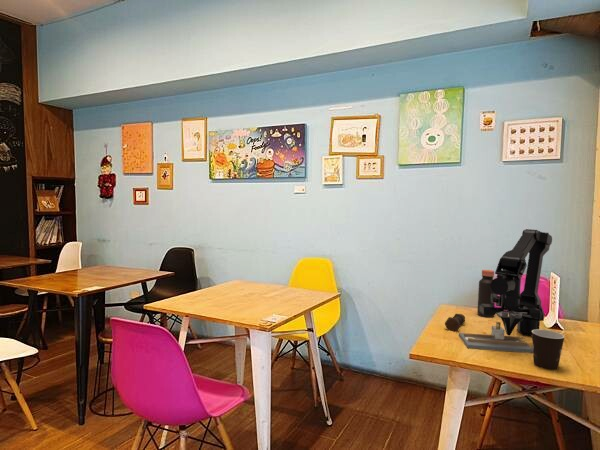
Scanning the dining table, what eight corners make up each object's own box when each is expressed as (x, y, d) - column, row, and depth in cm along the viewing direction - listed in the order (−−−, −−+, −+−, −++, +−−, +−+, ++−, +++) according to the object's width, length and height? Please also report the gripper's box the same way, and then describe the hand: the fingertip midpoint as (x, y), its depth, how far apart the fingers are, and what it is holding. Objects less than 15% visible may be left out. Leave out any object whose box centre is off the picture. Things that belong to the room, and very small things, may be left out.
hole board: (519, 340, 149) (520, 334, 148) (534, 353, 136) (535, 346, 136) (458, 335, 152) (459, 329, 152) (467, 348, 139) (468, 341, 139)
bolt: (462, 326, 169) (453, 334, 157) (452, 318, 172) (442, 326, 159) (470, 316, 167) (462, 323, 155) (460, 308, 170) (450, 314, 157)
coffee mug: (553, 373, 120) (555, 340, 119) (524, 363, 127) (526, 331, 126) (572, 365, 126) (574, 334, 125) (543, 356, 133) (545, 326, 132)
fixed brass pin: (523, 341, 143) (523, 337, 143) (525, 343, 141) (525, 339, 141) (517, 341, 143) (518, 337, 143) (519, 343, 142) (520, 338, 141)
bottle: (497, 317, 177) (500, 272, 176) (483, 317, 176) (486, 272, 175) (487, 313, 184) (489, 269, 183) (474, 313, 183) (476, 269, 181)
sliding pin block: (500, 338, 145) (500, 321, 145) (503, 342, 141) (504, 324, 141) (491, 338, 146) (492, 320, 145) (494, 341, 142) (495, 323, 141)
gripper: (529, 287, 148) (527, 329, 149) (476, 284, 151) (473, 326, 152) (543, 294, 137) (540, 340, 138) (485, 291, 140) (482, 335, 141)
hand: (508, 335), depth 143 cm, fingers closed
